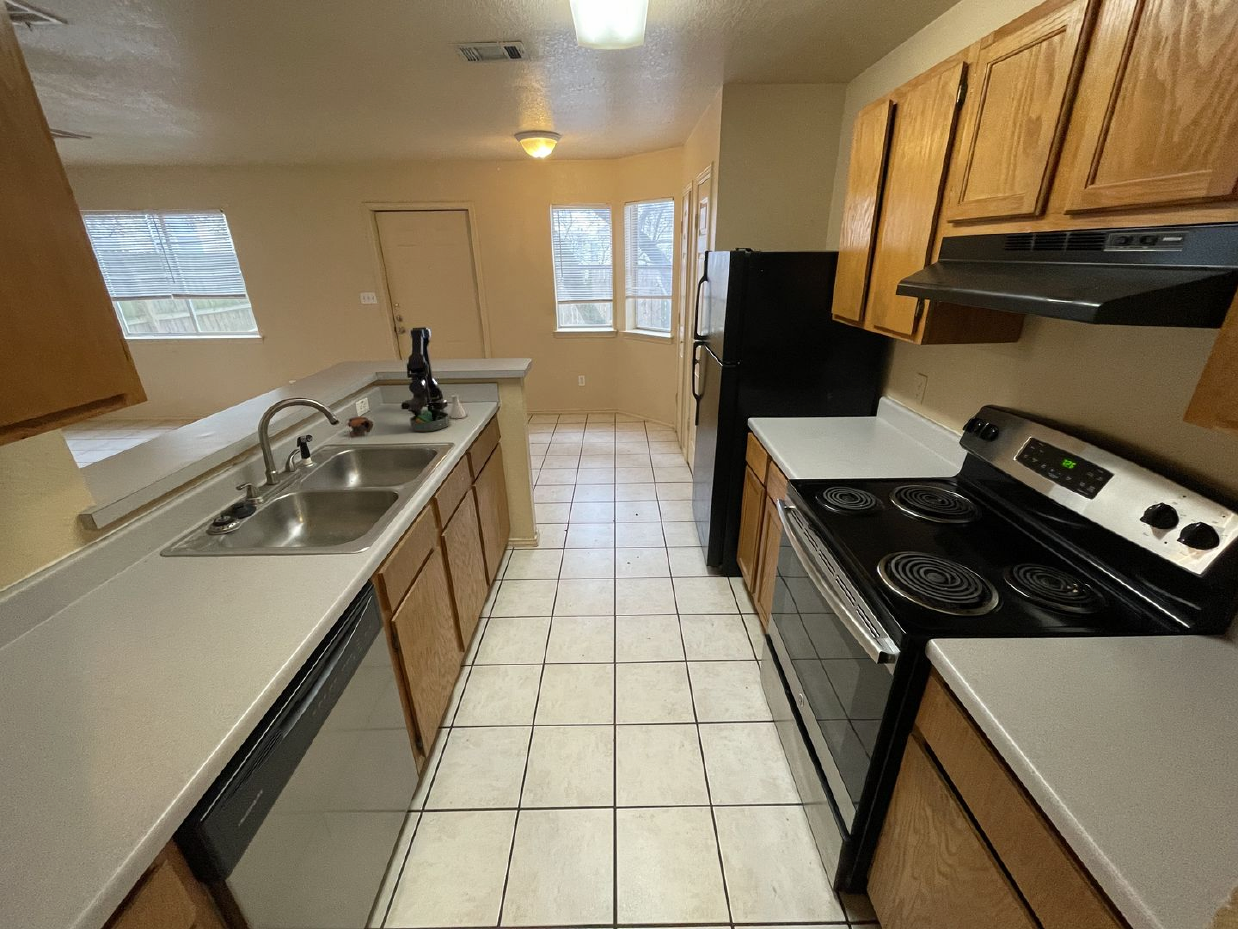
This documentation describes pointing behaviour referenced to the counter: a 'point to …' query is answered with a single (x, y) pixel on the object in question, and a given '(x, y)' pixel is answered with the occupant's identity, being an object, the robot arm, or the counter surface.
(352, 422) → the pottery mug
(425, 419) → the sponge
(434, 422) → the bowl
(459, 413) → the flask
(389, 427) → the counter surface
